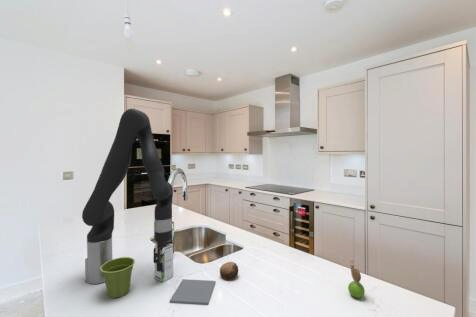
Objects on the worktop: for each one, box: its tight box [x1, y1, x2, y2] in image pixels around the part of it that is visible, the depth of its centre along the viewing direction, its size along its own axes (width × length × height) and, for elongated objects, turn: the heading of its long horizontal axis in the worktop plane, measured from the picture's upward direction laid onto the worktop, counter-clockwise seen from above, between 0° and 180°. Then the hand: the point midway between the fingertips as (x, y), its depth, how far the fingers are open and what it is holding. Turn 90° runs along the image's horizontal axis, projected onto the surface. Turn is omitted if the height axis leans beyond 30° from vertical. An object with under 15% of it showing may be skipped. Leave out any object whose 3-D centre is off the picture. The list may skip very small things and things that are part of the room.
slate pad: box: [169, 278, 217, 306], centre depth 89 cm, size 14×14×1 cm
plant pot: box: [100, 256, 136, 299], centre depth 88 cm, size 12×12×11 cm
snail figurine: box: [347, 260, 365, 299], centre depth 86 cm, size 5×6×12 cm
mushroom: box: [219, 261, 239, 281], centre depth 100 cm, size 8×8×6 cm
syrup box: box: [154, 243, 174, 283], centre depth 99 cm, size 6×6×14 cm
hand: (163, 266), depth 99 cm, fingers closed on syrup box, 7 cm apart
